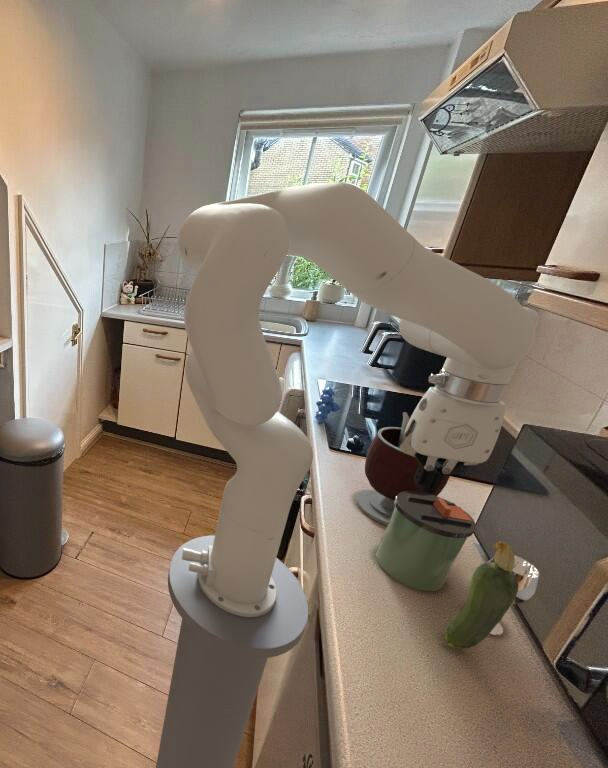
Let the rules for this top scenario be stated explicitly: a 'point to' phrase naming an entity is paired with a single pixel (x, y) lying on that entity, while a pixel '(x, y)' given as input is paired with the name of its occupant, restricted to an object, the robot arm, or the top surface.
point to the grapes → (326, 405)
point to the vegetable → (485, 600)
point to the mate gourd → (389, 473)
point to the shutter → (451, 510)
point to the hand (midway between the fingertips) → (423, 487)
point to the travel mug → (421, 541)
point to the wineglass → (521, 585)
